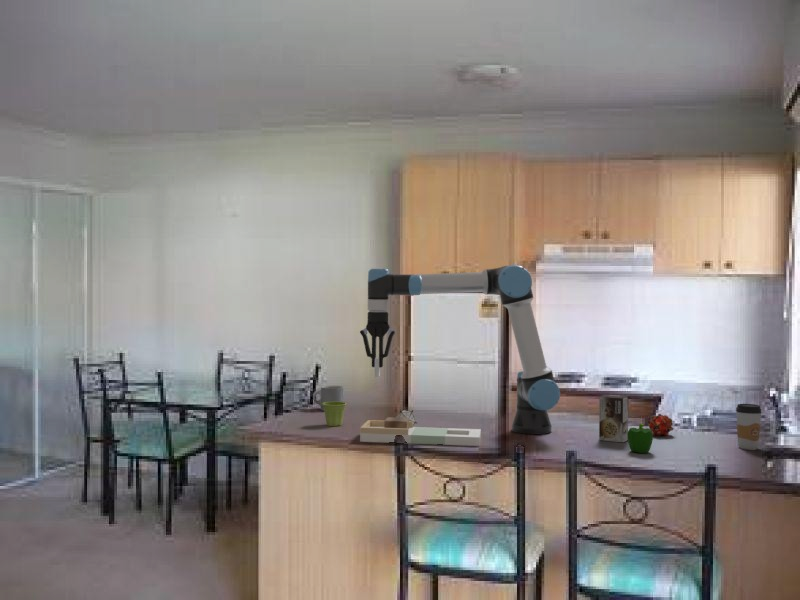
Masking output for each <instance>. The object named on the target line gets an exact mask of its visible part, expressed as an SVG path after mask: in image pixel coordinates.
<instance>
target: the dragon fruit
mask: <svg viewBox="0 0 800 600" xmlns="http://www.w3.org/2000/svg"><path fill="white" fill-rule="evenodd" d="M647 425H648V427H649V428H648V429H651V431H652V433H653V437H658V436H657V435H659V436H661V435H663V436H664V435H665V436H664V437H667V436H668V435H670V432H672V431H674V427H673V419H672V418H670V417H669V416H668V415H665V414H664V415H663V414H661V413H658V414H657V415H655V416H652V417H651V419H650V420H649V422H648V424H647ZM666 435H667V436H666Z"/></svg>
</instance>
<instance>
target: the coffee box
mask: <svg viewBox="0 0 800 600" xmlns="http://www.w3.org/2000/svg"><path fill="white" fill-rule="evenodd" d="M598 399H599V400H598V402H599V404H598V409H599V412H598V414H599V418H598V419H599V421H598V423H599V425H598V428H599V429H598V440H599V441H605V442H606V441H607V442H614V443H624V442H627V440H628V431H629V396H628V395H626V396H625V395H618V394H617V395H616V394H602V395H600V396H599V398H598Z"/></svg>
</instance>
